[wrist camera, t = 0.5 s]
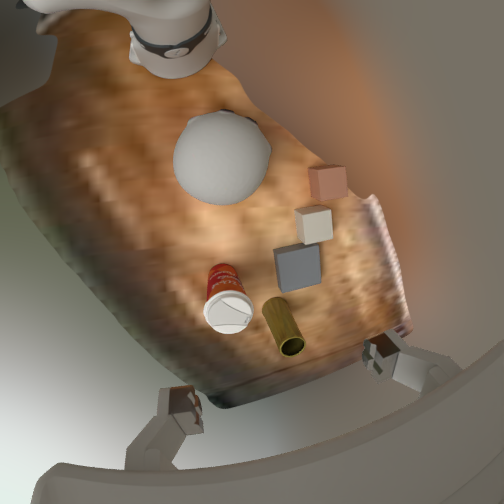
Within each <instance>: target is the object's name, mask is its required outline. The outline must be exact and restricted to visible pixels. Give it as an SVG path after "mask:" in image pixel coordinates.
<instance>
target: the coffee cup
mask: <svg viewBox="0 0 504 504" xmlns="http://www.w3.org/2000/svg"><path fill="white" fill-rule="evenodd" d="M253 312H254V308H253V304H252V302H251V300H250V299H249V298H248V297H247V295H246V293H245V291H244V288H243V286H242V284H241V282H240V279H239V277H238V275H237V273H236V271H235V270H234V268H233V267H232V266H230V265H228V264H218V265H216V266H214V267H213V268H212V269H211V270H210V272H209V276H208V287H207V302H206V304H205V306H204V312H203V313H204V316H205V318H206V320H207V322H208V323H209V325H210V326H211V327H212V328H213V329H215V330H216V331H218V332H220V333H224V334H233V333H237V332H240V331H241V330H243V329H244V328H246V327H247V324H248V323H249V322H250V320H251V318H252V316H253Z"/></svg>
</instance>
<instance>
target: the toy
mask: <svg viewBox="0 0 504 504" xmlns="http://www.w3.org/2000/svg"><path fill="white" fill-rule="evenodd" d="M271 152H272V148H271V145H270V144H269V143H268V141H267V140H266V138H265V137H264V135H263V134H262V132H261V131H260V129H259V128H258V124H257V123H256V121H254V120H253V119H251V118H249V117H241V116H239V115H236V114H235V113H234V112H233V111H231V110H227V109H221V110H219V111H218V112H213V113H208V114H204V115H200V116H195V117H192V118H191V119H189V121H188V124H187V127H186V128H185V129H184V131H183V132H182V134H181V135H180V137H179V139H178V141H177V144H176V147H175V150H174V156H173V167H174V173H175V176H176V178H177V180H178V182H179V184H180V185H181V186H182V188H183V189H184V190H185V191H186V192H187V193H189V194H190V195H191V196H193V197H194V198H196V199H198V200H200V201H203V202H206V203H209V204H214V205H231V204H235V203H238V202H241V201H243V200H244V199H246V198H248V197H249V196H250V195H251V194H253V192H254V191H255V190H256V189H257V188H258V187H259V185H260V184H261V182H262V180H263V179H264V176H265V174H266V171H267V168H268V163H269V156H270V154H271Z"/></svg>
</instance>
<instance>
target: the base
mask: <svg viewBox="0 0 504 504" xmlns="http://www.w3.org/2000/svg"><path fill="white" fill-rule="evenodd" d="M273 251H274V258H275V265H276V272H277V280H278V287H279V289H280V290H281V292H282V293H285V292H289V291H293V290H297V289H301V288H305V287H309V286H312V285H316V284H320V283H321V270H320V255H319V245H318V244H317V243H312V244H307V245H305V244H304V243H300V244H296V245H291V246H287V247H282V248H278V249H273Z"/></svg>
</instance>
